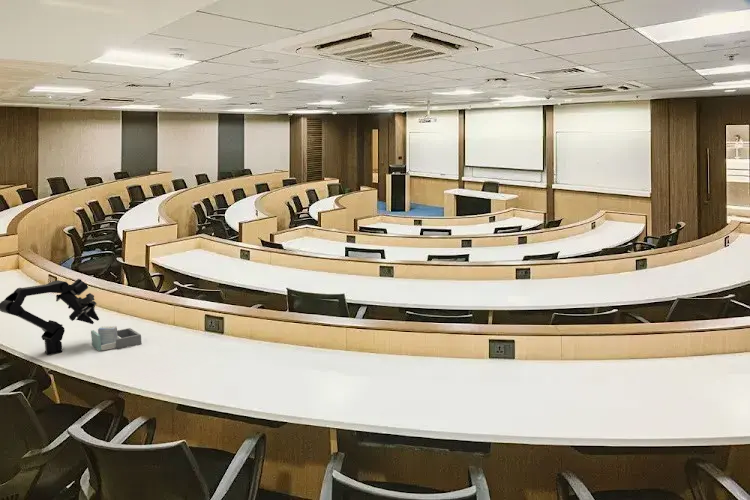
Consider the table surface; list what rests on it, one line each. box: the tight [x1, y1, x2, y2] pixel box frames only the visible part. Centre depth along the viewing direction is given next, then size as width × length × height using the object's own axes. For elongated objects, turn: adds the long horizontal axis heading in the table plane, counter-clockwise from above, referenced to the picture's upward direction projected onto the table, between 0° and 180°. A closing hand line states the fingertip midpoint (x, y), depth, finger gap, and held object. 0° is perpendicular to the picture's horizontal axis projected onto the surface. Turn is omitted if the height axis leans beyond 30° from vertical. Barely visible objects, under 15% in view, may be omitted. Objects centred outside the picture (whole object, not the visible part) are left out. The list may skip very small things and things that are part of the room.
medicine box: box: [97, 325, 118, 345], centre depth 284 cm, size 8×4×9 cm, turn 93°
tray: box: [90, 329, 121, 352], centre depth 284 cm, size 13×13×8 cm
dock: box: [115, 327, 142, 350], centre depth 290 cm, size 12×16×5 cm
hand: (96, 321), depth 283 cm, fingers open, 6 cm apart
